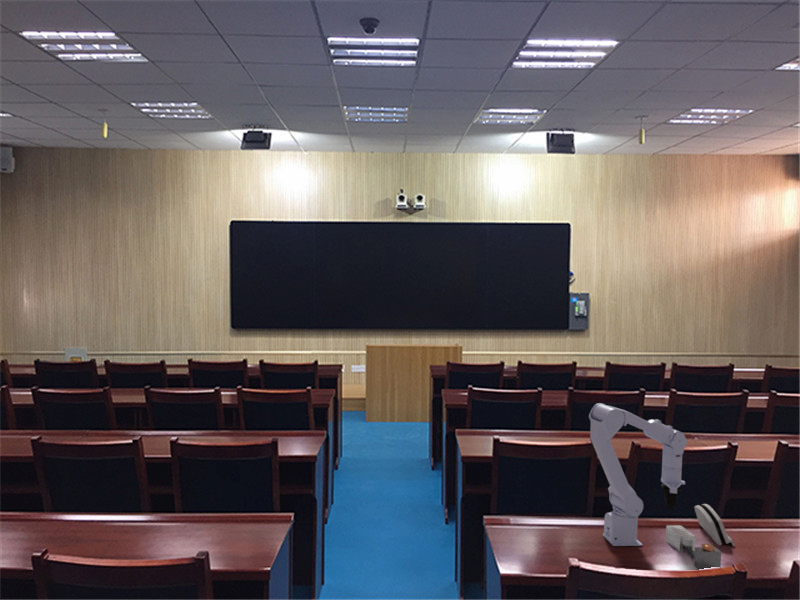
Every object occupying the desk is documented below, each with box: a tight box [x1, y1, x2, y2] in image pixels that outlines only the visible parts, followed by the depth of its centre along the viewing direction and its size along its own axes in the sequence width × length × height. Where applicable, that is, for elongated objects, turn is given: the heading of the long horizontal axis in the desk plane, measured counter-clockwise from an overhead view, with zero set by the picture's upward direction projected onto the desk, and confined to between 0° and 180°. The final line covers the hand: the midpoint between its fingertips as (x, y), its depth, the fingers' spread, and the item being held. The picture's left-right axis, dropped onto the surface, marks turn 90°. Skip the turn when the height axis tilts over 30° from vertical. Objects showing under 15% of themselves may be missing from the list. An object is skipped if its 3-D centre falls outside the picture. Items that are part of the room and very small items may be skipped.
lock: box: [665, 524, 696, 553], centre depth 180 cm, size 8×5×5 cm, turn 4°
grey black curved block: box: [693, 503, 736, 547], centre depth 190 cm, size 17×5×10 cm, turn 171°
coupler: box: [687, 543, 722, 570], centre depth 170 cm, size 6×11×6 cm, turn 4°
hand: (670, 508), depth 187 cm, fingers closed
